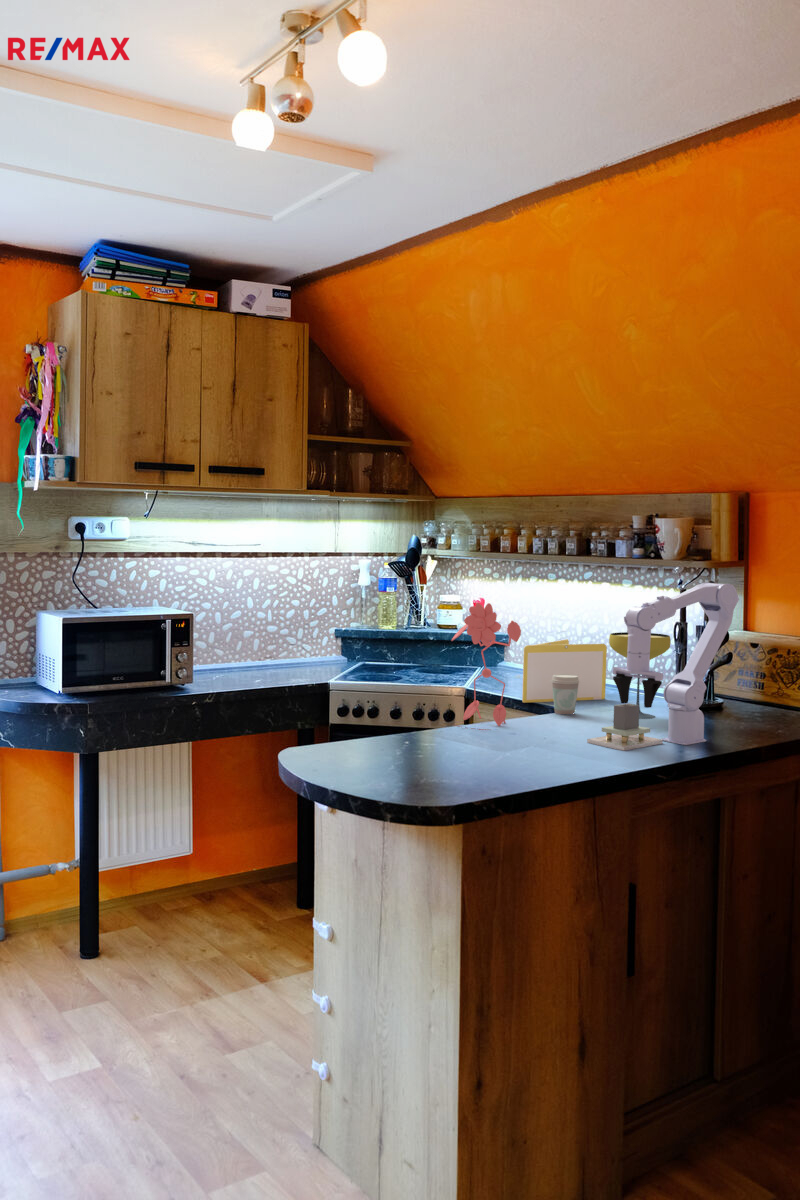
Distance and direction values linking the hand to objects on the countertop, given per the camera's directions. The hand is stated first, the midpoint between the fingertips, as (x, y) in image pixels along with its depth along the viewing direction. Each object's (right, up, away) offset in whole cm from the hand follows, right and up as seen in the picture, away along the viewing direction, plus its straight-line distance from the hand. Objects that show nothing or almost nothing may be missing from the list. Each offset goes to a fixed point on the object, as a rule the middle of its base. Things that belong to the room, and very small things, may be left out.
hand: (635, 705), depth 259 cm
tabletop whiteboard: (-6, -7, +73) cm, 74 cm away
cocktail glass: (+11, -8, +44) cm, 46 cm away
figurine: (-39, -9, +25) cm, 47 cm away
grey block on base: (-2, -7, +3) cm, 8 cm away
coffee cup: (-11, -8, +45) cm, 47 cm away
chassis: (-2, -10, +3) cm, 11 cm away
